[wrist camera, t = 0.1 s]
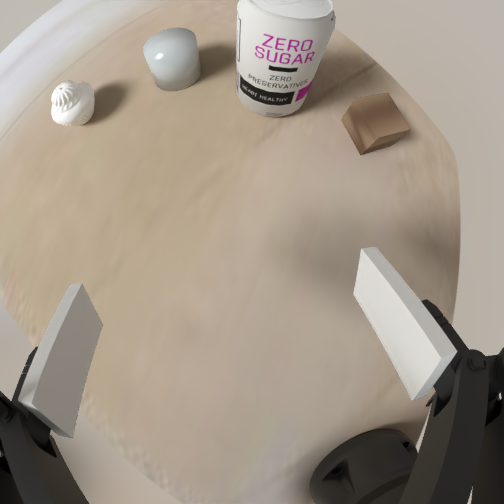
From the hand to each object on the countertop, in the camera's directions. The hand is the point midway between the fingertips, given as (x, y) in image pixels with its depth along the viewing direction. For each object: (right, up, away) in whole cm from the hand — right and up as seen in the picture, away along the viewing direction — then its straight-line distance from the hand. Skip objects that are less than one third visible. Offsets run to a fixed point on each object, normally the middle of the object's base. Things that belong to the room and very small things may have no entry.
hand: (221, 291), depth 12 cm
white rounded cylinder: (-8, +24, +17) cm, 31 cm away
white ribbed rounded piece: (-20, +19, +16) cm, 33 cm away
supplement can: (+4, +21, +17) cm, 27 cm away
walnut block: (+15, +16, +18) cm, 28 cm away
